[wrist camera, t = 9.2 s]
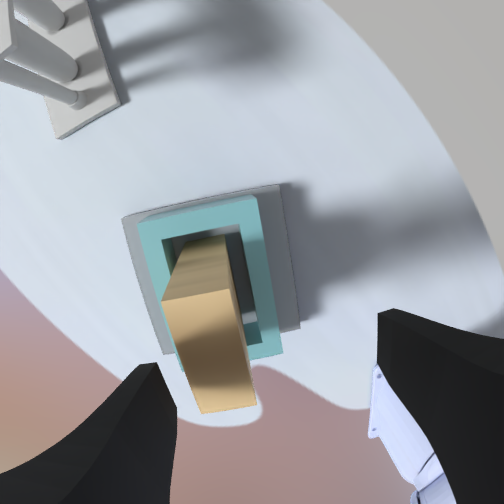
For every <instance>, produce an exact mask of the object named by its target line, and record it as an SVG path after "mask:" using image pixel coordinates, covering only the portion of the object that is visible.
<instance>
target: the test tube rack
mask: <svg viewBox="0 0 504 504" xmlns="http://www.w3.org/2000/svg"><path fill="white" fill-rule="evenodd" d="M14 10H16V11H17V12H19V13H20V14H21V15H23V16H24V17H26V18H27V19H28V25H29V27H28V26H26V25H25V24H23V23H21V22H20V21H18V20H17V19H15V17H14ZM4 59H7V60H9V61H12V62H14V63H16V64H18V65H21V66H23V67H25V68H28V69H30V70H32V71H34V72H37V73H38V74H35V73H33V72H31V71H29V70H26V69H24V68H22V67H19V66H17V65H15V64H12V63H10V62H8V61H5V60H4ZM0 81H1V82H4V83H7V84H11V85H14V86H17V87H20V88H23V89H26V90H29V91H32V92H35V93H38V94H41V95H43V96H44V100H45V103H46V107H47V110H48V114H49V117H50V121H51V124H52V127H53V130H54V134H55V137H56V139H60V140H62V139H64V138H65V137H67V136H68V135H70V134H72V133H73V132H75V131H76V130H78V129H80V128H81V127H83V126H85V125H86V124H88V123H90V122H91V121H93V120H95V119H97V118H98V117H100V116H102V115H104V114H106V113H107V112H109V111H111V110H113V109H115V108H117V107H118V106H120V105H121V103H120V100H119V97H118V94H117V92H116V89H115V86H114V83H113V80H112V78H111V75H110V72H109V69H108V66H107V63H106V60H105V57H104V54H103V51H102V48H101V45H100V42H99V39H98V35H97V32H96V29H95V26H94V22H93V19H92V16H91V12H90V9H89V5H88V2H87V0H0Z"/></svg>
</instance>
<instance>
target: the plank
mask: <svg viewBox="0 0 504 504" xmlns="http://www.w3.org/2000/svg"><path fill="white" fill-rule="evenodd" d="M161 305H162V308H163V311H164V314H165V317H166V320H167V323H168V326H169V329H170V332H171V335H172V338H173V341H174V344H175V347H176V350H177V352H178V355H179V358H180V361H181V364H182V366H183V369H184V372H185V374H186V377H187V380H188V382H189V385H190V387H191V390H192V392H193V395H194V397H195V400H196V402H197V405H198V407H199V410H200V412H201V414H205V413H213V412H219V411H226V410H232V409H238V408H243V407H249V406H254V405H257V402H256V396H255V390H254V385H253V379H252V373H251V367H250V362H249V356H248V350H247V344H246V338H245V332H244V326H243V320H242V314H241V309H240V305H239V300H238V295H237V291H236V286H235V282H234V277H233V272H232V267H231V263H230V258H229V253H228V248H227V244H226V239H225V234H221V235H216V236H211V237H206V238H202V239H197V240H192V241H187V242H185V245H184V247H183V249H182V252H181V254H180V256H179V258H178V261H177V263H176V266H175V268H174V270H173V273H172V275H171V277H170V280H169V282H168V285H167V287H166V290H165V292H164V295H163V297H162V300H161Z"/></svg>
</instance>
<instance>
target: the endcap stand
mask: <svg viewBox="0 0 504 504" xmlns="http://www.w3.org/2000/svg"><path fill="white" fill-rule="evenodd" d="M121 221H122V225H123V229H124V233H125V236H126V240H127V244H128V248H129V251H130V255H131V259H132V262H133V266H134V269H135V272H136V276H137V279H138V282H139V286H140V289H141V292H142V295H143V298H144V301H145V304H146V308H147V311H148V314H149V316H150V319H151V322H152V325H153V328H154V331H155V334H156V336H157V339H158V342H159V345H160V347H161V350H162V353H163V355H165V354H172V353H176V356H177V359H178V362H179V364H180V367H181V370H182V372H184V369H183V366H182V364H181V361H180V358H179V355H178V352H177V350H176V347H175V344H174V341H173V338H172V335H171V332H170V329H169V326H168V323H167V320H166V317H165V314H164V311H163V308H162V305H161V300H162V297H163V295H164V292H165V290H166V287H167V285H168V282H169V280H170V277H171V275H172V273H173V270H174V268H175V266H176V263H177V261H178V258H179V256H180V254H181V252H182V249H183V247H184V245H185V242H187V241H192V240H197V239H202V238H206V237H211V236H216V235H221V234H225V239H226V244H227V248H228V253H229V258H230V263H231V267H232V272H233V277H234V282H235V286H236V291H237V295H238V300H239V305H240V309H241V314H242V320H243V326H244V332H245V338H246V344H247V350H248V356H249V360H254V359H259V358H264V357H269V356H273V355H278V354H282V353H283V349H282V343H281V337H280V333H284V332H288V331H292V330H297V329H301V328H300V320H299V312H298V305H297V297H296V290H295V283H294V276H293V269H292V262H291V255H290V249H289V242H288V236H287V229H286V223H285V217H284V210H283V204H282V198H281V192H280V186H279V185H277V184H276V185H270V186H265V187H259V188H254V189H248V190H243V191H238V192H233V193H228V194H223V195H218V196H213V197H208V198H203V199H199V200H194V201H189V202H185V203H180V204H176V205H171V206H167V207H163V208H158V209H154V210H150V211H146V212H142V213H138V214H133V215H129V216H125V217H123V218H122V219H121Z"/></svg>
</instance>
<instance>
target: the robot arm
mask: <svg viewBox="0 0 504 504" xmlns="http://www.w3.org/2000/svg"><path fill="white" fill-rule="evenodd" d="M377 364H378V365H376V366H375V368H374V370H373V383H372V397H371V409H370V420H369V430H368V436H369V438H375V437H378V436H379V437H380V439H381V440H382V442H383V444H384V446H385V447H386V449H387V451H388V453H389V455H390V456H391V458H392V460H393V462H394V464H395V465H396V467H397V469H398V471H399V472H400V474H401V476H402V477H403V478H404V479H405V480H406V481H408V482H409V483H411V484H414V485H415V487H416V489H417V490H415V491H414V492H413V493H412V495H411V498H410V504H504V339H500V338H495V337H489V336H484V335H479V334H475V333H471V332H467V331H463V330H460V329H456V328H453V327H450V326H447V325H444V324H441V323H438V322H435V321H432V320H429V319H426V318H423V317H420V316H417V315H414V314H411V313H408V312H405V311H402V310H398V309H394V308H393V309H390V310H387V311H384V312H380V313H378V341H377ZM380 373H381V374H380ZM379 374H380V375H379ZM176 438H177V407H176V405H175V403H174V400H173V398H172V396H171V394H170V392H169V389H168V387H167V385H166V383H165V380H164V378H163V376H162V373H161V371H160V369H159V366H158V364H157V362H155V363H148V364H140V365H139V366H137V367H136V368H135V369H134V370H133V371H132V372H131V373H130V374H129V375H128V377H127V378H126V379H125V380H124V381H123V382H122V383H121V384H120V385H119V386H118V387H117V388H116V389H115V391H114V392H113V393H112V394H111V395H110V396H109V397H108V398H107V399H106V400H105V401H104V402H103V403H102V404H101V405H100V406H99V407H98V408H97V409H96V410H95V411H94V412H93V413H92V414H91V415H90V416H89V417H88V418H87V419H86V420H85V421H84V422H83V423H82V424H80V425H79V426H78V427H77V428H76V429H75V430H73V431H72V432H71V433H70V434H69V435H67V436H66V437H64V438H63V439H62V440H61V441H59V442H58V443H56V444H55V445H54V446H52V447H50V448H49V449H47V450H46V451H44V452H43V453H41V454H39V455H38V456H36V457H35V458H33V459H31V460H29V461H27V462H25V463H23V464H22V465H20V466H17V467H15V468H13V469H11V470H9V471H6V472H4V473H1V474H0V504H170V502H169V501H170V485H171V477H172V469H173V460H174V453H175V446H176Z"/></svg>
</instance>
